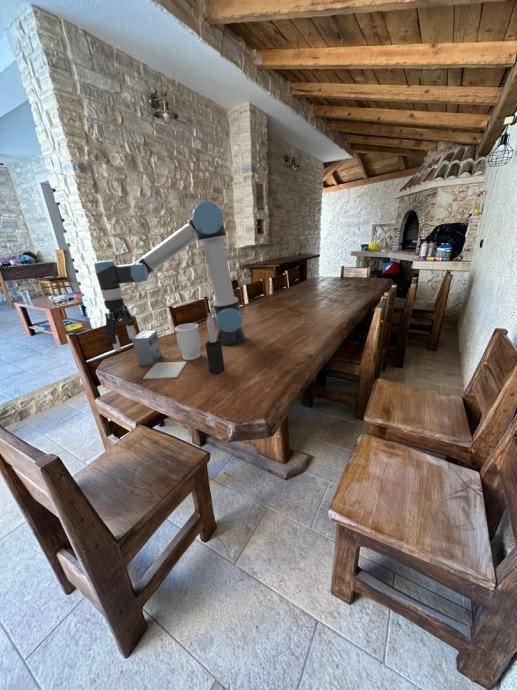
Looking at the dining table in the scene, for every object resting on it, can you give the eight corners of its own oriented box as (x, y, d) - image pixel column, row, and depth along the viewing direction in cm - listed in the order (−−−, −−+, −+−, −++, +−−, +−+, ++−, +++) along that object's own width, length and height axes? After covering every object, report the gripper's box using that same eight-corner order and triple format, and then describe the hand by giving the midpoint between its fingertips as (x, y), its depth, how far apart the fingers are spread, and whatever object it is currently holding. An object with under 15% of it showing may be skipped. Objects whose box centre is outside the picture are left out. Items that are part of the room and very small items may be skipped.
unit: (163, 355, 133) (157, 330, 129) (154, 364, 124) (148, 338, 119) (147, 356, 134) (141, 331, 129) (138, 365, 125) (131, 338, 120)
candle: (217, 374, 112) (209, 315, 102) (208, 372, 114) (199, 314, 105) (225, 369, 115) (218, 311, 106) (216, 367, 118) (208, 310, 109)
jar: (197, 361, 124) (192, 330, 119) (176, 361, 126) (170, 330, 121) (206, 352, 134) (201, 322, 128) (186, 351, 136) (181, 322, 130)
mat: (186, 362, 124) (186, 361, 124) (176, 378, 111) (176, 376, 111) (156, 363, 125) (156, 362, 125) (143, 379, 112) (142, 377, 112)
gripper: (119, 292, 130) (130, 334, 138) (86, 306, 107) (102, 355, 115) (135, 292, 130) (145, 334, 138) (105, 305, 107) (119, 355, 115)
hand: (125, 344), depth 127 cm, fingers open, 13 cm apart
